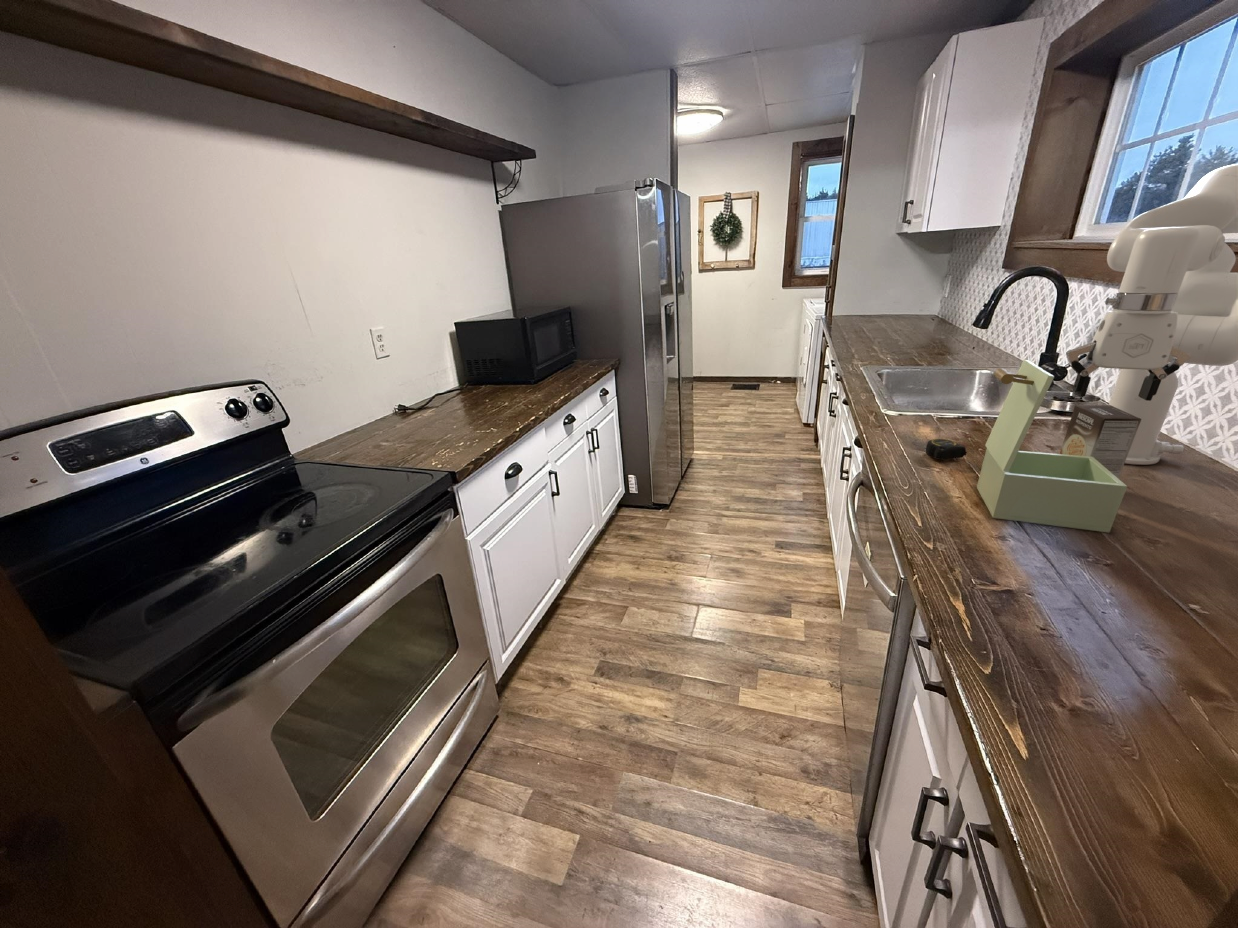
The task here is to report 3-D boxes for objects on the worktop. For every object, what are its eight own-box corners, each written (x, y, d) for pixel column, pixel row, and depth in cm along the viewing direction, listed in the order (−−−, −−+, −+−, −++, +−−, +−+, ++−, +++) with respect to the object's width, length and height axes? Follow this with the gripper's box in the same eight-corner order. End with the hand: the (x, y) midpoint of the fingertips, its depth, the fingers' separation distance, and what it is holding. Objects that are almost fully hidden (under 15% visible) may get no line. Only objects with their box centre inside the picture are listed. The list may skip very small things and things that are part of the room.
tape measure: (938, 464, 116) (941, 449, 114) (918, 453, 122) (921, 439, 120) (964, 461, 116) (968, 446, 115) (943, 451, 123) (946, 436, 121)
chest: (1078, 498, 97) (1092, 456, 94) (1109, 532, 86) (1127, 486, 82) (976, 487, 104) (986, 447, 100) (992, 517, 92) (1004, 474, 89)
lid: (1028, 360, 92) (994, 354, 94) (1054, 376, 81) (1014, 370, 82) (989, 446, 100) (958, 439, 102) (1008, 472, 88) (972, 464, 90)
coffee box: (1050, 476, 107) (1072, 404, 101) (1084, 477, 106) (1109, 404, 100) (1076, 494, 99) (1103, 417, 93) (1114, 496, 97) (1144, 418, 91)
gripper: (1090, 305, 89) (1061, 399, 95) (1223, 305, 82) (1183, 405, 88) (1074, 302, 95) (1048, 389, 101) (1196, 301, 88) (1160, 395, 95)
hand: (1111, 397), depth 95 cm, fingers open, 9 cm apart
